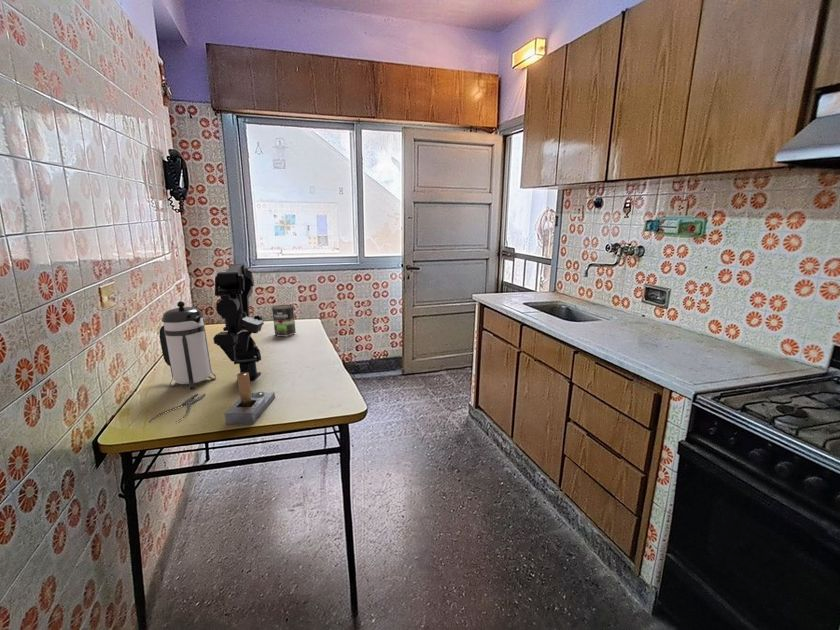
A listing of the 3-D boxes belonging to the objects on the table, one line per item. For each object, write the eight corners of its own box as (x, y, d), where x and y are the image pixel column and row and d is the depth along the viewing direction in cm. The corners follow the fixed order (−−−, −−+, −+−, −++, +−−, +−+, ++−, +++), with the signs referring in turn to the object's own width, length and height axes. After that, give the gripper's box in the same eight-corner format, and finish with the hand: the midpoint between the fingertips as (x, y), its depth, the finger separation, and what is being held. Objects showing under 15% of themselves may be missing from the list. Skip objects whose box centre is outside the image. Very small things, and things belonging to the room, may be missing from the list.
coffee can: (292, 336, 206) (289, 308, 203) (271, 337, 207) (268, 309, 203) (299, 330, 216) (296, 304, 213) (279, 331, 217) (276, 304, 213)
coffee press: (218, 371, 163) (207, 295, 155) (214, 386, 148) (201, 303, 141) (167, 378, 157) (153, 299, 150) (157, 394, 142) (141, 308, 135)
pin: (245, 412, 128) (239, 372, 125) (255, 412, 128) (250, 372, 125) (240, 417, 125) (235, 376, 122) (251, 417, 125) (246, 376, 122)
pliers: (145, 423, 122) (176, 394, 141) (145, 426, 122) (176, 397, 141) (180, 421, 123) (206, 392, 142) (181, 423, 123) (206, 395, 142)
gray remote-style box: (251, 397, 138) (250, 387, 137) (275, 397, 138) (273, 387, 137) (226, 424, 121) (224, 413, 120) (253, 424, 121) (251, 412, 120)
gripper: (245, 317, 126) (252, 366, 130) (268, 303, 144) (273, 347, 148) (209, 317, 126) (216, 366, 130) (236, 304, 145) (242, 347, 148)
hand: (239, 356), depth 139 cm, fingers open, 9 cm apart
